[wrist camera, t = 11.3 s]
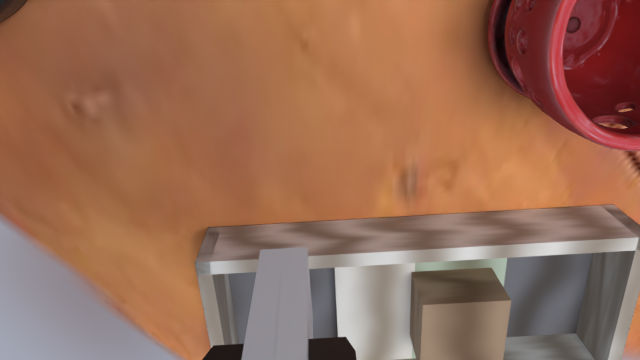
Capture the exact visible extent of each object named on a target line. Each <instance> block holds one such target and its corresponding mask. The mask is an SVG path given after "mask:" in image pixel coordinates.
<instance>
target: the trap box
mask: <svg viewBox="0 0 640 360" xmlns="http://www.w3.org/2000/svg"><path fill="white" fill-rule="evenodd" d="M298 247H307V248H308V262H309V275H310V288H311V301H312V314H313V339H315V338H333V337H346V338H347V339H348V341H349V342H350V343H351V345H352V346H353V348H354V349H355V351H356V359H357V360H416V356H415V352H414V349H413V345H412V341H411V338H410V306H411V277H412V272H419V271H437V270H456V269H474V268H492V269H493V271H494V272H495V274H496V276H497V277H498V279H499V281H500V282H501V284H502V286H503V287H504V289H505V291H506V292H507V294H508V296H509V297H510V299H511V307H510V314H509V321H508V328H507V335H506V342H505V349H504V357H503V360H621V359H622V355H623V351H624V347H625V344H626V340H627V336H628V332H629V329H630V325H631V321H632V318H633V314H634V310H635V306H636V303H637V299H638V295H639V292H640V225H639V224H638V223H636V222H635V221H634V220H633V219H631V218H630V217H629V216H627V215H626V214H625V213H624V212H622V211H621V210H620V209H619V208H617V207H616V206H615V205H596V206H578V207H561V208H543V209H526V210H508V211H491V212H473V213H456V214H438V215H421V216H403V217H386V218H369V219H351V220H334V221H316V222H299V223H281V224H264V225H246V226H229V227H211V228H208V230H207V232H206V235H205V237H204V240H203V242H202V245H201V248H200V250H199V253H198V255H197V258H196V261H195V267H196V272H197V277H198V283H199V288H200V293H201V298H202V304H203V309H204V314H205V319H206V324H207V330H208V335H209V340H210V345H211V348H212V347H213V345H230V344H244V341H245V336H246V330H247V324H248V318H249V312H250V307H251V301H252V295H253V289H254V283H255V278H256V272H257V266H258V260H259V255H260V250H263V249H281V248H298Z"/></svg>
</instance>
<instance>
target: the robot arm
mask: <svg viewBox="0 0 640 360" xmlns="http://www.w3.org/2000/svg"><path fill="white" fill-rule="evenodd" d="M25 2H26V0H0V22H1V21H3V20H5V19H7V18H8V17H10V16H11V15H12V14H14V13H15V12H16V11H17V10H18V9H19V8H20V7H21V6H22V5H23V4H24V3H25ZM202 360H357V359H356V351H355V349H354V348H353V346H352V345H351V343H350V342H349V341H348V339H347V338H346V337H333V338H315V339H313V314H312V301H311V288H310V275H309V262H308V248H307V247H298V248H281V249H263V250H260V255H259V260H258V266H257V272H256V278H255V283H254V289H253V295H252V301H251V307H250V312H249V318H248V324H247V330H246V336H245V341H244V344H230V345H213V347H212V348H211V349H210V350H209V352H208V353H207V354H206V356H205V357H204V358H203V359H202Z"/></svg>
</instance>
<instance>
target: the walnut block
mask: <svg viewBox="0 0 640 360" xmlns="http://www.w3.org/2000/svg"><path fill="white" fill-rule="evenodd" d="M510 307H511V299H510V297H509V296H508V294H507V292H506V291H505V289H504V287H503V286H502V284H501V282H500V281H499V279H498V277H497V276H496V274H495V272H494V271H493V269H492V268H474V269H456V270H437V271H419V272H412V277H411V306H410V338H411V341H412V345H413V349H414V352H415V356H416V360H503V357H504V349H505V342H506V335H507V328H508V321H509V314H510Z"/></svg>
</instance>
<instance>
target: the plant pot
mask: <svg viewBox="0 0 640 360" xmlns="http://www.w3.org/2000/svg"><path fill="white" fill-rule="evenodd" d="M488 45H489V51H490V55H491V59H492V62H493V64H494V66H495V68H496V70H497V72H498V73H499V75H500V76H501V77H502V79H503V80H504V81H505V82H506V83H507V84H508V85H509V86H510V87H511V88H512V89H514V90H515V91H516V92H518V93H520V94H521V95H523V96H525V97H528V98H530V99H531V100H532V101H533V102H534V103H535V104H536V105H537V106H538V107H539V108H540V109H541V110H542V111H543V112H545V113H546V114H547V115H549V116H550V117H551V118H553V119H554V120H555V121H556V122H558V123H559V124H561V125H562V126H564V127H565V128H567V129H568V130H570V131H572V132H574V133H576V134H578V135H579V136H581V137H583V138H586V139H588V140H590V141H592V142H595V143H597V144H599V145H602V146H605V147H608V148H612V149H618V150H625V151H640V0H494V2H493V5H492V8H491V12H490V17H489V23H488ZM628 108H630V109H633V110H631V111H627V112H618V111H619V110H622V109H628ZM598 123H613V124H620V125H623V126H626V127H628V128H625V129H617V128H611V127H606V126H603V125H600V124H598Z"/></svg>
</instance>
